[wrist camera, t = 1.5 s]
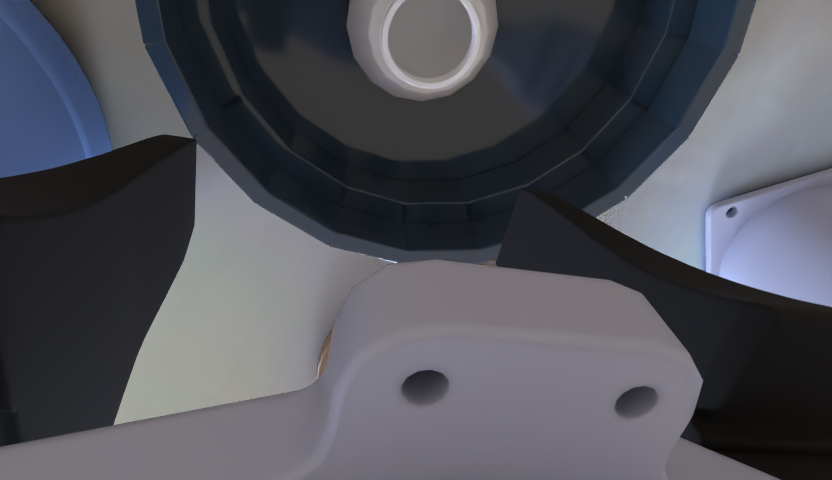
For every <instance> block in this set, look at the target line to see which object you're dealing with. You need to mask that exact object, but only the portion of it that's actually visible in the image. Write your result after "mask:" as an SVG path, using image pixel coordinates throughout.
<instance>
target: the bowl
mask: <svg viewBox="0 0 832 480" xmlns="http://www.w3.org/2000/svg"><path fill="white" fill-rule="evenodd" d="M135 3H136V8H137V13H138V18H139V23H140V28H141V33H142V38H143V42H144V44H146V45H145V48H146V50H147V52H148V54H149V56H150V58H151V59H152V61H153V63H154V65H155V67H156V69H157V71H158V73H159V75H160V77H161V79H162V80H163V82H164V84H165V86H166V88H167V90H168V92H169V94H170V96H171V98H172V100H173V102H174V103H175V105H176V107H177V109H178V111H179V113H180V115H181V117H182V119H183V121H184V123H185V124H186V126H187V128H188V130H189V132H190V134H191V135H192V136H193V139H197V143H198V144H199V145H200V146H201V147H202V148H203V149H204V150H205V152H206V153H207V154H208V155H209V156H210V157H211V158H212V159H213V160H214V161H215V162H216V163H217V164H218V165H219V166H220V167H221V168H222V169H223V170H224V171H225V172H226V173H227V174H228V175H229V177H230V178H231V179H232V180H233V181H234V182H235V183H236V184H237V185H238V186H239V187H240V188H241V189H242V190H243V191H244V192H245V193H246V194H247V195H248V196H249V197H250V198H251V199H252V201H253V202H254V203H257V204H258V205H259V206H261V207H262V208H264V209H266V210H268V211H269V212H271V213H273V214H275V215H276V216H278V217H280V218H281V219H283V220H285V221H287V222H288V223H290V224H292V225H294V226H295V227H297V228H299V229H300V230H302V231H304V232H306V233H307V234H309V235H311V236H313V237H314V238H316V239H318V240H320V241H321V242H323V243H325V244H326V245H329V246H330V247H334V248H338V249H342V250H346V251H350V252H354V253H358V254H362V255H366V256H370V257H374V258H378V259H382V260H386V261H390V262H394V263H406V262H415V261H425V260H434V259H437V260H445V261H454V262H462V263H481V261H482V262H486V261H490V260H493V259H496V258H497V257H498V254H499V251H500V248H501V245H502V242H503V239H504V236H505V233H506V230H507V227H508V224H509V221H510V218H511V215H512V212H513V209H514V206H515V203H516V200H517V197H518V194H519V191H520V188H522V189H528V190H535V191H542V192H546V193H549V194H552V195H555V196H557V197H559V198H561V199H563V200H565V201H567V202H569V203H571V204H572V205H574V206H576V207H578V208H579V209H581V210H583V211H585V212H586V213H588V214H590V215H592V216H593V217H597V216H598V215H600V214H602V213H603V212H605V211H607V210H608V209H610V208H612V207H613V206H615V205H617V204H618V203H620V202H622V201H623V200H625V199H626V198H628V197H629V196H630V195H631V194H632V193H633V192H634V191H635V190H636V189H637V188H638V187H639V186H640V185H641V184H642V183H643V182H644V181H645V180H646V179H647V178H648V177H649V176H650V175H651V174H652V173H653V172H654V171H655V170H656V169H657V168H658V167H659V166H660V165H661V164H662V163H663V162H664V161H665V160H666V159H667V158H668V157H669V156H670V155H671V154H672V153H673V152H674V151H675V150H676V149H677V148H678V147H679V146H680V145H681V144H682V143H683V142H684V141H685V140H686V139H687V138H688V136H689V135H690V134H691V132H692V131H693V129H694V128H695V126H696V124H697V123H698V121H699V119H700V118H701V116H702V114H703V113H704V111H705V110H706V108H707V106H708V105H709V103H710V101H711V100H712V98H713V96H714V95H715V93H716V92H717V90H718V88H719V87H720V85H721V83H722V82H723V80H724V78H725V77H726V75H727V74H728V72H729V70H730V69H731V67H732V65H733V64H734V62H735V61H736V59H737V57H738V55H737V54H739V53H740V50H741V47H742V44H743V41H744V37H745V34H746V31H747V28H748V25H749V22H750V18H751V15H752V12H753V9H754V6H755V3H756V0H496V7H497V17H498V29H497V33H496V36H495V40H494V44H493V48H492V51H491V55H490V57H489V58H488V59H487V61H486V62H485V64H484V65H483V66H482V68H481V69H480V71H479V72H478V74H477V75H476V76H475V78H474V79H473V80H472V81H470V82H469V83H467V84H466V85H464V86H463V87H461V88H460V89H458V90H457V91H455V92H454V93H452V94H451V95H449V96H445V97H440V98H436V99H431V100H427V101H417V100H411V99H406V98H400V97H395V96H393V95H391V94H390V93H388V92H387V91H385V90H384V89H382V88H381V87H379V86H378V85H376V84H374V83H373V82H371V81H370V79H369V78H368V77H367V75H366V74H365V72H364V71H363V69H362V68H361V67H360V65H359V64H358V62H357V61H356V59H355V58H354V56H353V52H352V48H351V43H350V39H349V35H348V31H347V27H346V24H347V17H348V10H349V3H350V0H135Z"/></svg>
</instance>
